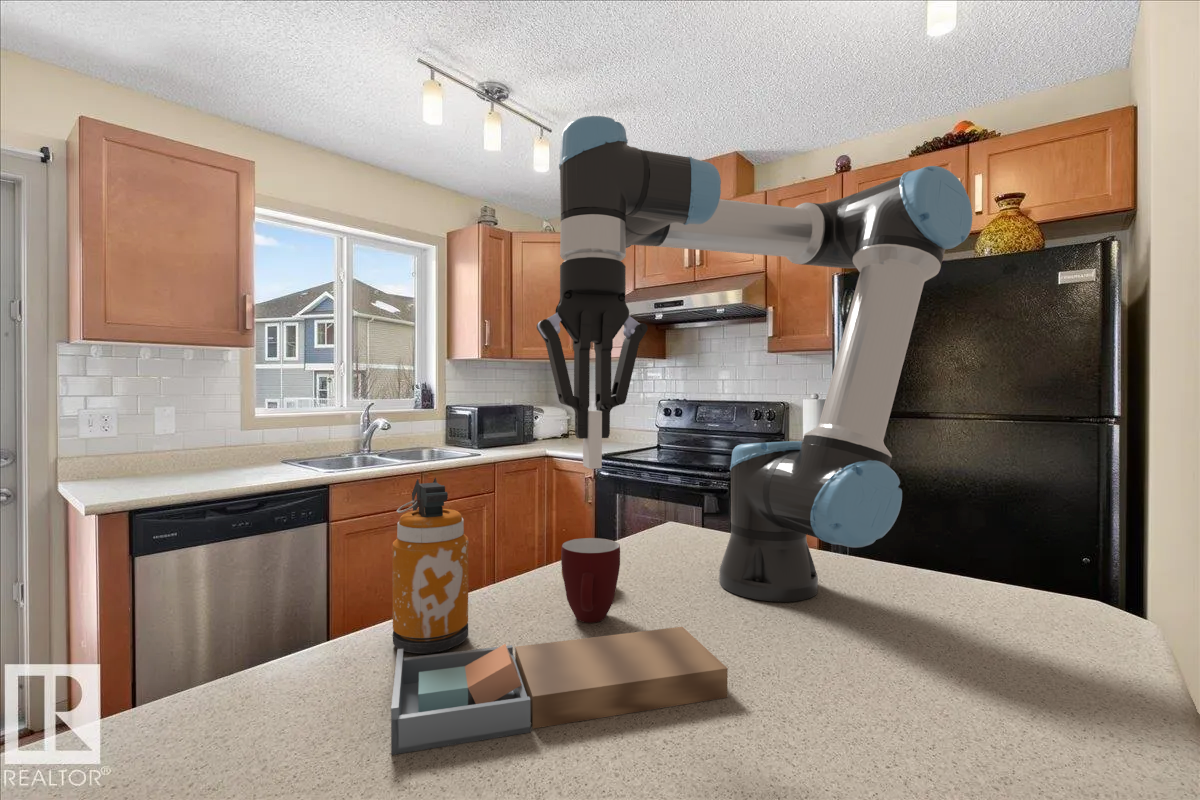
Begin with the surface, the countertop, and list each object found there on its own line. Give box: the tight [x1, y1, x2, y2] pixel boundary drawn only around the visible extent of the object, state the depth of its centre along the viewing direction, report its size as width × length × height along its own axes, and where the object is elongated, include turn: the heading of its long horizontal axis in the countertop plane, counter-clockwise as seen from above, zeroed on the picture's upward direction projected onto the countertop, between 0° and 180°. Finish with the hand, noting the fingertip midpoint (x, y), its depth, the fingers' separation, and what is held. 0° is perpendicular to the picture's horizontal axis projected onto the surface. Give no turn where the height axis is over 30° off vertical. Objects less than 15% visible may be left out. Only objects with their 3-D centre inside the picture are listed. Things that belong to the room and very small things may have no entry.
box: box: [390, 644, 531, 756], centre depth 58 cm, size 12×12×4 cm
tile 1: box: [418, 666, 468, 713], centre depth 58 cm, size 4×4×2 cm
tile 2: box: [465, 643, 522, 704], centre depth 59 cm, size 4×4×2 cm
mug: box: [560, 537, 621, 624], centre depth 80 cm, size 11×8×10 cm
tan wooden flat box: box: [514, 626, 729, 730], centre depth 63 cm, size 20×11×3 cm, turn 106°
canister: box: [392, 477, 469, 655], centre depth 74 cm, size 9×11×20 cm
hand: (592, 466), depth 68 cm, fingers closed
